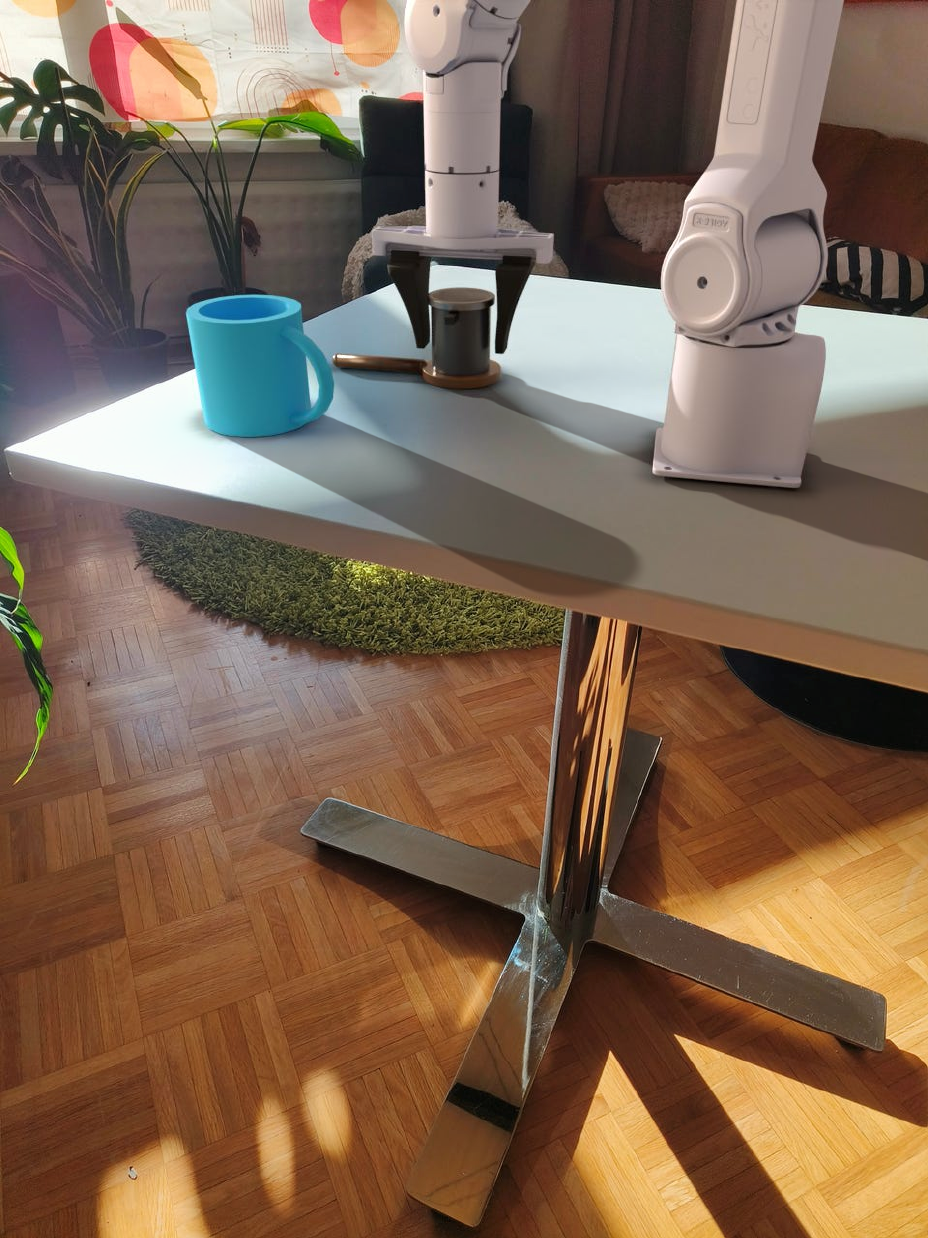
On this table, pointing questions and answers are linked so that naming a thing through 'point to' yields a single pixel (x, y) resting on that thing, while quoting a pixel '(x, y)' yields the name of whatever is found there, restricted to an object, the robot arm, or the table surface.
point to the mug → (255, 365)
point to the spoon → (418, 370)
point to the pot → (461, 330)
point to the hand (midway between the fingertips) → (461, 347)
